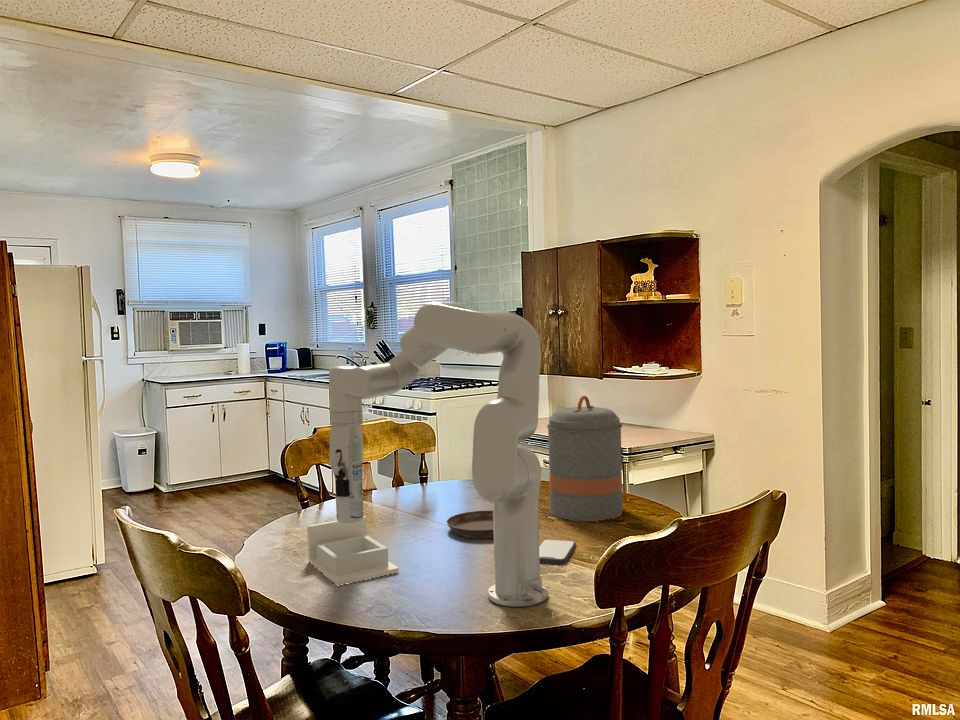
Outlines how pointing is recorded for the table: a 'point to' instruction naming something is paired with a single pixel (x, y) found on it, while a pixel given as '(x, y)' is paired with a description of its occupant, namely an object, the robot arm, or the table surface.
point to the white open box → (347, 552)
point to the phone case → (555, 551)
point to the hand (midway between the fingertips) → (349, 492)
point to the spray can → (352, 489)
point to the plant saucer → (473, 524)
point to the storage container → (585, 463)
